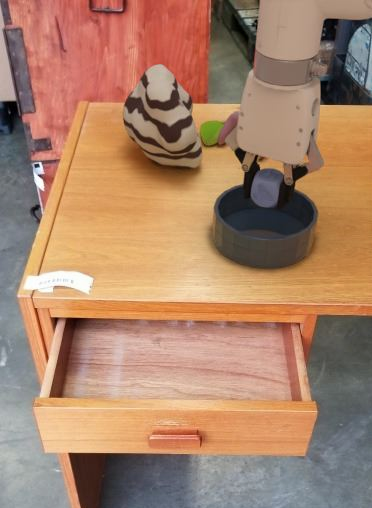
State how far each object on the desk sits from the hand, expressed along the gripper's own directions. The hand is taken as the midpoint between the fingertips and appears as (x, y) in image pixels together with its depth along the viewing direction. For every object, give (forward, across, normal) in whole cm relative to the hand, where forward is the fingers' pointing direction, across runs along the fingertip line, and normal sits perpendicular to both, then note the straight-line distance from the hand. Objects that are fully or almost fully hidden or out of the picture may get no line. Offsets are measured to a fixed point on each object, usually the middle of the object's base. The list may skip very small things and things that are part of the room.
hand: (267, 198), depth 86 cm
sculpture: (+7, +26, -13) cm, 30 cm away
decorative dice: (+1, 0, 0) cm, 1 cm away
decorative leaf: (+7, +22, -26) cm, 35 cm away
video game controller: (+7, +15, -24) cm, 29 cm away
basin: (+7, 0, 0) cm, 7 cm away
